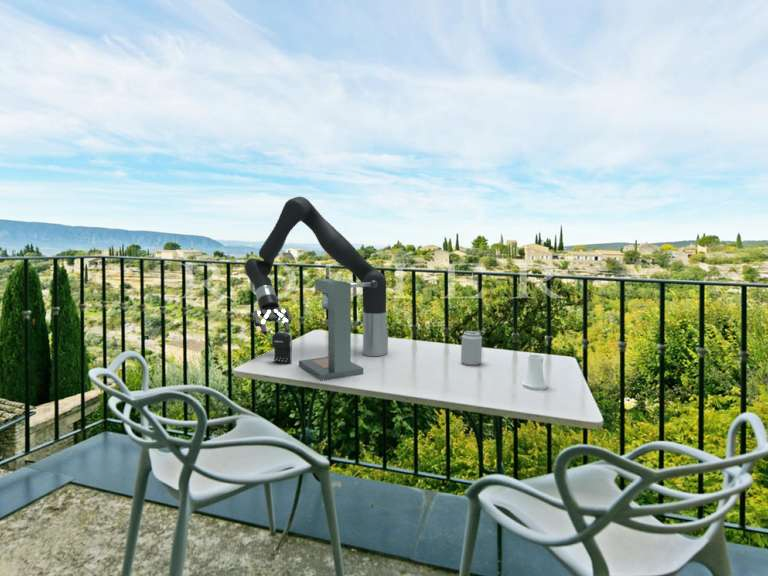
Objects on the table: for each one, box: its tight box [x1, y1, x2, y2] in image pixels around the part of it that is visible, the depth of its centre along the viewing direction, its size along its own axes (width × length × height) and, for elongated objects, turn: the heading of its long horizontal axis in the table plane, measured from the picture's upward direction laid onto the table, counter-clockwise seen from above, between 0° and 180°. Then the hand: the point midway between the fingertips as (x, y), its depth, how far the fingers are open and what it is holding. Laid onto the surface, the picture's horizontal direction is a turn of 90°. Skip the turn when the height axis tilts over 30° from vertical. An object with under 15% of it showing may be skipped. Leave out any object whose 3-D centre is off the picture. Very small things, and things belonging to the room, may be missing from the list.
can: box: [460, 330, 483, 367], centre depth 185 cm, size 8×8×12 cm
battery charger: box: [271, 331, 293, 365], centre depth 183 cm, size 7×4×11 cm, turn 69°
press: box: [298, 278, 378, 381], centre depth 176 cm, size 27×20×32 cm
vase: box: [522, 354, 548, 391], centre depth 158 cm, size 8×8×10 cm
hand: (276, 332), depth 187 cm, fingers open, 8 cm apart
